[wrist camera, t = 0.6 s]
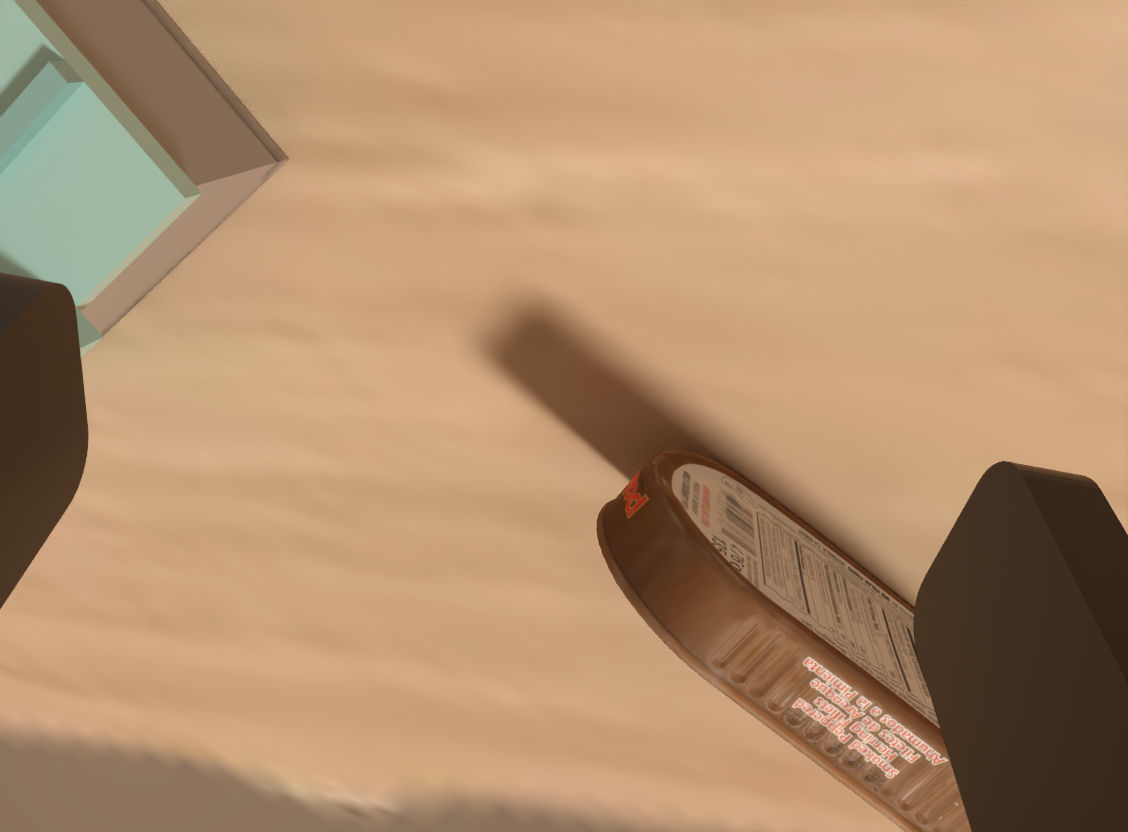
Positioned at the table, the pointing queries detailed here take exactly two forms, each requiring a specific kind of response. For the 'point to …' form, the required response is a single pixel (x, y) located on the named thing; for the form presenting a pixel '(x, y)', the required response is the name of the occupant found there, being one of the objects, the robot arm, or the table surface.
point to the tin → (784, 631)
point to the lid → (74, 167)
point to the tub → (169, 129)
